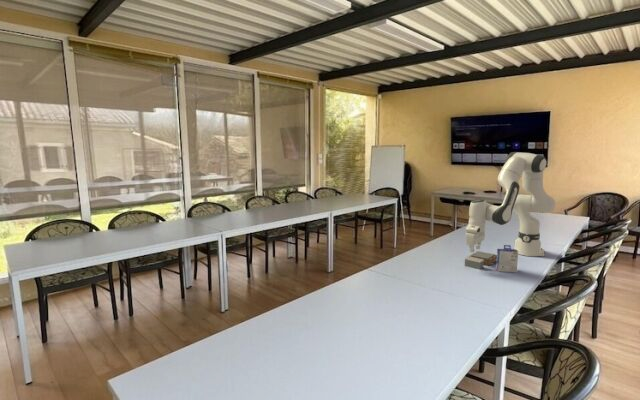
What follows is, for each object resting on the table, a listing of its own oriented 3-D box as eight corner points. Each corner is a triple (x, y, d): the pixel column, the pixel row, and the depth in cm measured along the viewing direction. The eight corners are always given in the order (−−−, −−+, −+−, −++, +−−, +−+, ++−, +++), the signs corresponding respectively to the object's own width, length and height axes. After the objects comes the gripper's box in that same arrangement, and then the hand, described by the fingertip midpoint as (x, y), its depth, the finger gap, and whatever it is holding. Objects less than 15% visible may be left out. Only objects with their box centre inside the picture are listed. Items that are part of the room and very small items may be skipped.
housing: (468, 264, 211) (468, 256, 210) (483, 267, 204) (484, 259, 203) (464, 266, 207) (465, 258, 207) (479, 269, 201) (480, 261, 200)
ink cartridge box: (514, 269, 200) (516, 245, 198) (517, 272, 195) (519, 247, 193) (495, 268, 202) (497, 244, 200) (498, 271, 197) (500, 246, 195)
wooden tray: (476, 256, 225) (477, 250, 224) (496, 260, 216) (497, 254, 216) (468, 261, 215) (468, 255, 214) (488, 266, 206) (489, 259, 206)
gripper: (477, 223, 211) (476, 246, 213) (464, 229, 197) (462, 252, 199) (488, 225, 207) (486, 247, 209) (475, 230, 192) (474, 255, 194)
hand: (475, 250), depth 204 cm, fingers open, 8 cm apart
